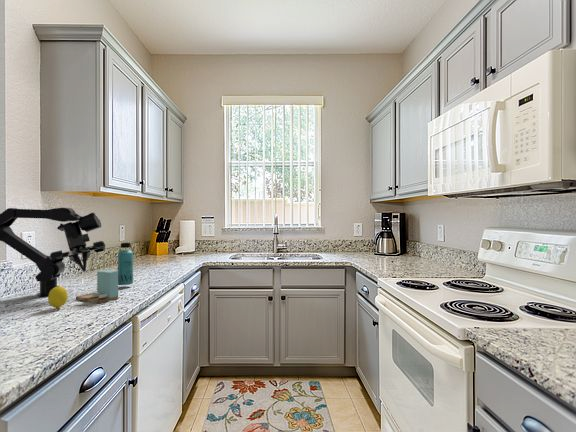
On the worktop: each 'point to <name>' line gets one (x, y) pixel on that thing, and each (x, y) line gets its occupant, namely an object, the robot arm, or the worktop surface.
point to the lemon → (57, 297)
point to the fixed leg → (110, 284)
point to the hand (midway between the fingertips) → (84, 271)
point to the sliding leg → (100, 283)
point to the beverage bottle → (125, 265)
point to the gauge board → (95, 298)
